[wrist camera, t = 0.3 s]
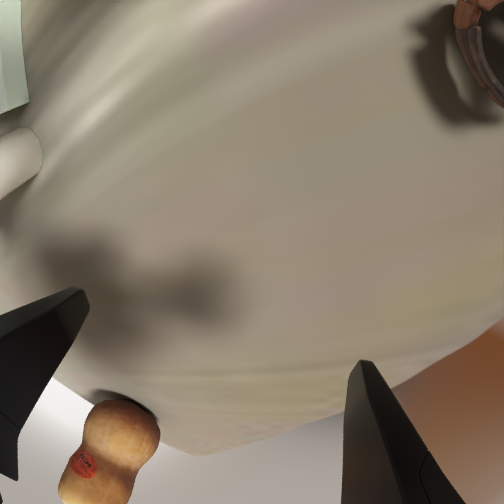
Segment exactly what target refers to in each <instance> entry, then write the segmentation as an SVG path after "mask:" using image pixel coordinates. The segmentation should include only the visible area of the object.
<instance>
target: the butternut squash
mask: <svg viewBox="0 0 504 504" xmlns="http://www.w3.org/2000/svg"><path fill="white" fill-rule="evenodd" d="M159 440H160V429H159V427H158V425H157V423H156V421H155V419H154V418H153V417H152V416H151V415H149V414H147V412H146V411H145V410H143V409H141V408H140V407H139V406H138V405H136V404H134V403H132V402H130V401H127V400H104V401H102V402H100V403H98V404H96V405H95V406H94V407H93V408H92V410H91V411H90V412H89V414H88V416H87V418H86V421H85V424H84V430H83V440H82V444H81V445H80V447H79V448H78V450H77V451H76V452H75V453H74V454H73V455H72V456H71V457H70V459H69V462H68V464H67V466H66V468H65V470H64V472H63V474H62V476H61V479H60V482H59V485H58V495H59V497H60V499H61V500H62V502H63V503H64V504H127V503H128V501H129V498H130V496H131V493H132V490H133V486H134V482H135V478H136V475H137V473H138V471H139V469H140V468H141V467H142V466H143V465H144V464H145V463H146V462H147V461H148V460H149V459H150V458H151V457H152V456H153V454H154V453H155V451H156V450H157V447H158V444H159Z"/></svg>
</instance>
